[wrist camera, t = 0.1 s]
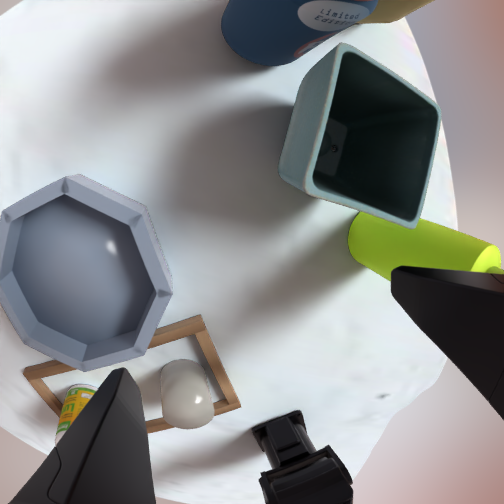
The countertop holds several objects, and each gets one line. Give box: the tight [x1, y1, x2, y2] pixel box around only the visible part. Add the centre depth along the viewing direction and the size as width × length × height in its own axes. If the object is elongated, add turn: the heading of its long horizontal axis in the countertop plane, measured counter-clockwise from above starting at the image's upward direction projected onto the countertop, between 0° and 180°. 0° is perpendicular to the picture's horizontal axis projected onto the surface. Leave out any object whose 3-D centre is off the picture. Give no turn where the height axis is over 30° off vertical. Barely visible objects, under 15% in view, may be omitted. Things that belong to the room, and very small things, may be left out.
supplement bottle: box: [55, 384, 98, 445], centre depth 19 cm, size 5×5×10 cm
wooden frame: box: [23, 315, 241, 434], centre depth 24 cm, size 12×20×1 cm, turn 105°
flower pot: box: [278, 43, 441, 229], centre depth 18 cm, size 9×9×9 cm
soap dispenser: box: [348, 212, 504, 282], centre depth 17 cm, size 6×7×20 cm
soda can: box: [221, 0, 378, 66], centre depth 12 cm, size 7×7×12 cm
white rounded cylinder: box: [160, 359, 215, 429], centre depth 23 cm, size 4×4×5 cm
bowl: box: [0, 174, 173, 372], centre depth 18 cm, size 14×14×3 cm
